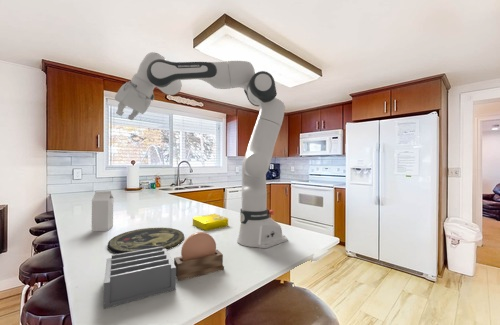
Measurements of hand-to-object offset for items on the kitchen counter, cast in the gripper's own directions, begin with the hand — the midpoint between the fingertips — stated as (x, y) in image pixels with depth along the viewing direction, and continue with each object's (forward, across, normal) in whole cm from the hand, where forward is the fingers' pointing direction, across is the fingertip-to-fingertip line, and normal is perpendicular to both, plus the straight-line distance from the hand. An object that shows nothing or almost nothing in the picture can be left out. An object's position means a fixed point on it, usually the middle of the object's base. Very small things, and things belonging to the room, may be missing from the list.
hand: (124, 117), depth 94 cm
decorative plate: (+43, +3, -33) cm, 54 cm away
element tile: (+32, +26, -54) cm, 68 cm away
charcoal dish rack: (+38, -32, -43) cm, 65 cm away
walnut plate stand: (+31, -24, -56) cm, 68 cm away
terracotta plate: (+25, -24, -53) cm, 64 cm away
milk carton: (+56, +20, -7) cm, 59 cm away
